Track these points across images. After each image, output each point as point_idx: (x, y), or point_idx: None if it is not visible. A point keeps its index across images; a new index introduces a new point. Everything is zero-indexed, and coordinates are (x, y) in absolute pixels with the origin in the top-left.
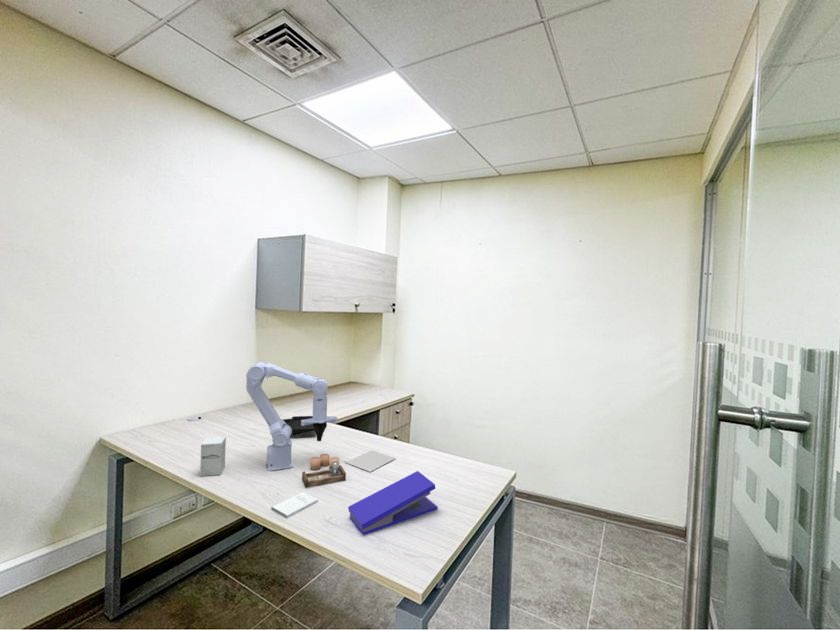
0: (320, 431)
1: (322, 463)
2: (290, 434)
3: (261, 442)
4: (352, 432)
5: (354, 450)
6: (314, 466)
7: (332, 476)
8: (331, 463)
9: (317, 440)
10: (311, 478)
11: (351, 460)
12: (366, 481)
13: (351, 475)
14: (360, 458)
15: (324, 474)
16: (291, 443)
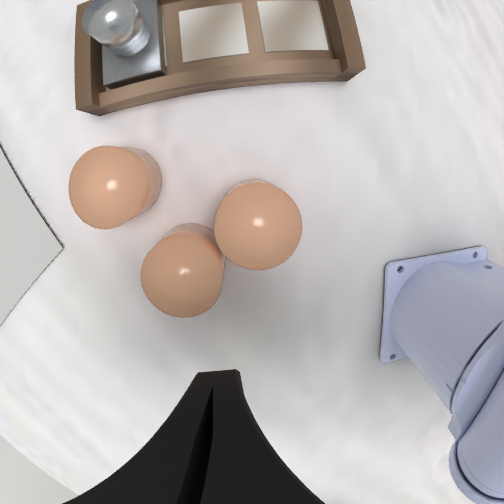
0: (192, 473)
1: (202, 231)
2: (497, 432)
3: (417, 479)
4: None
5: (46, 382)
6: (266, 182)
7: (159, 7)
8: (134, 155)
9: (241, 386)
10: (295, 34)
11: (36, 266)
12: (20, 21)
13: (55, 77)
14: (3, 278)
15: (203, 67)
16: (455, 383)
